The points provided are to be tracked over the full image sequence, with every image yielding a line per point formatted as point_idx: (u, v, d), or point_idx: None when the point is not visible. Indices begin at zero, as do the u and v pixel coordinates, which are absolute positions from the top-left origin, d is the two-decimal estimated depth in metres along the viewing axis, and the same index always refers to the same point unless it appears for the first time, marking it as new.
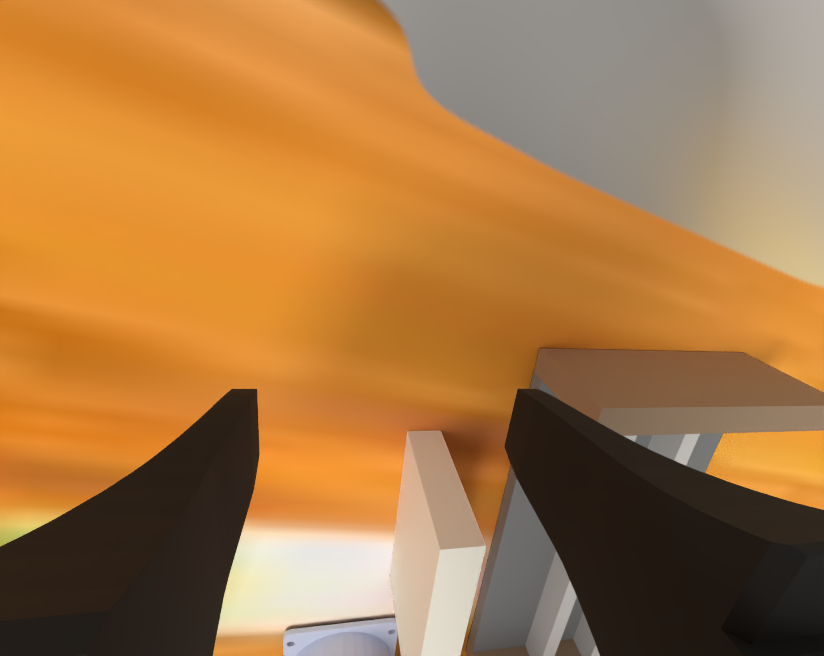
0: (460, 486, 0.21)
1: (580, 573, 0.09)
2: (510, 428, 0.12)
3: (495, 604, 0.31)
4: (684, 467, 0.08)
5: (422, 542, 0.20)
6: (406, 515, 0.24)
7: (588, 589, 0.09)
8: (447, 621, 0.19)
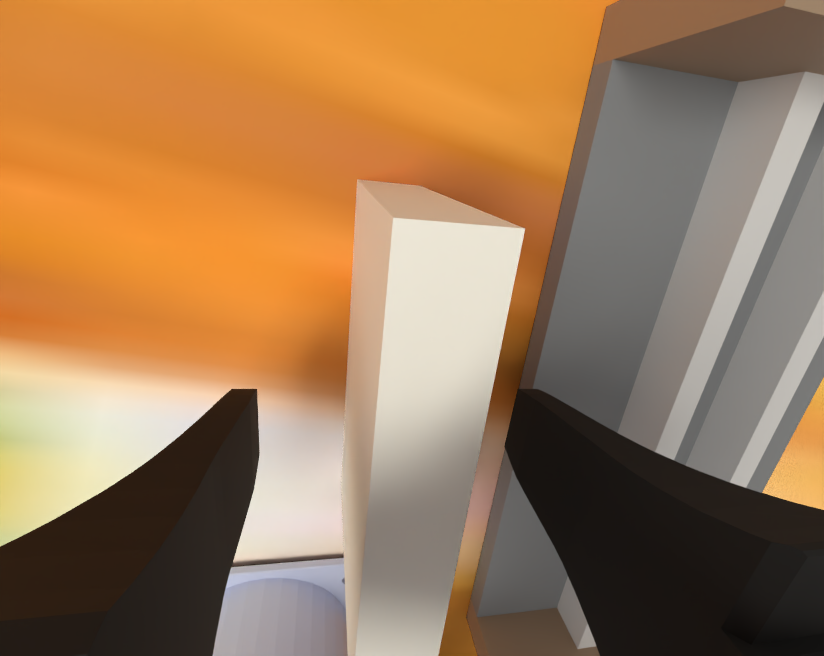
0: (455, 201, 0.09)
1: (580, 573, 0.09)
2: (510, 428, 0.12)
3: (513, 536, 0.19)
4: (684, 467, 0.08)
5: (368, 312, 0.09)
6: (354, 331, 0.13)
7: (588, 589, 0.09)
8: (421, 475, 0.08)
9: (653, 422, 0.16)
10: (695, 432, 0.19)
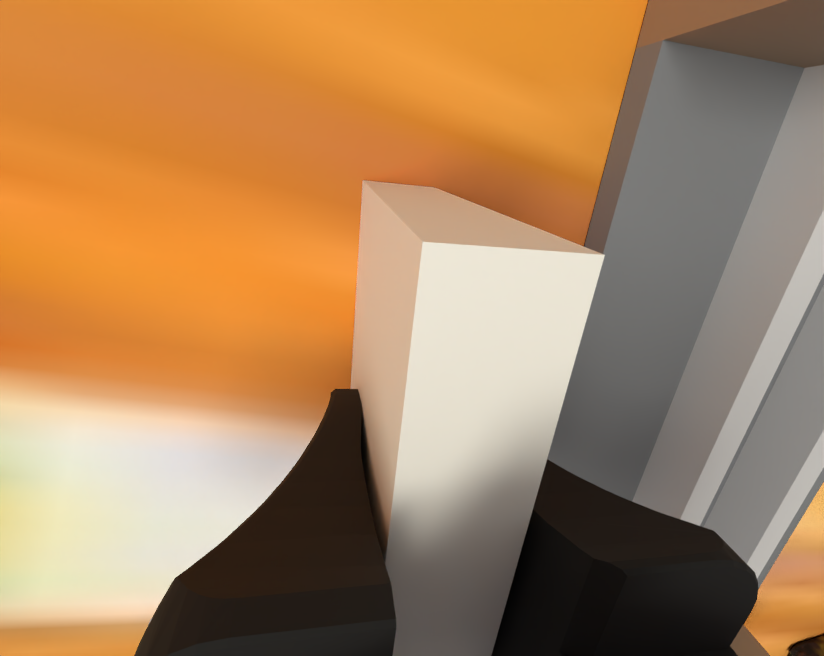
0: (486, 209, 0.08)
1: None
2: None
3: None
4: (564, 473, 0.08)
5: (379, 349, 0.07)
6: (359, 358, 0.11)
7: None
8: (450, 567, 0.06)
9: (693, 452, 0.14)
10: (733, 458, 0.17)
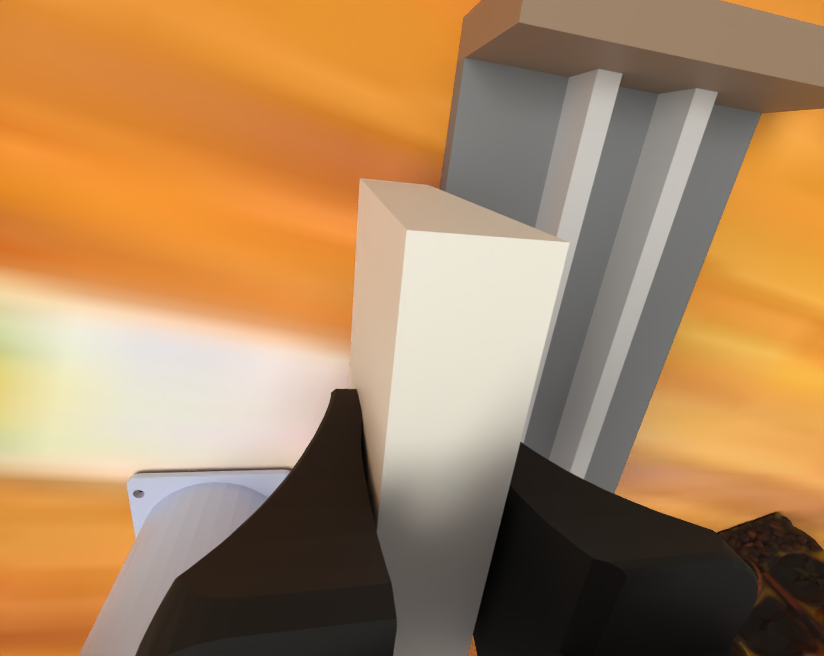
0: (473, 204, 0.08)
1: None
2: None
3: None
4: (564, 473, 0.08)
5: (373, 334, 0.08)
6: (356, 347, 0.11)
7: None
8: (437, 530, 0.07)
9: None
10: (572, 369, 0.23)
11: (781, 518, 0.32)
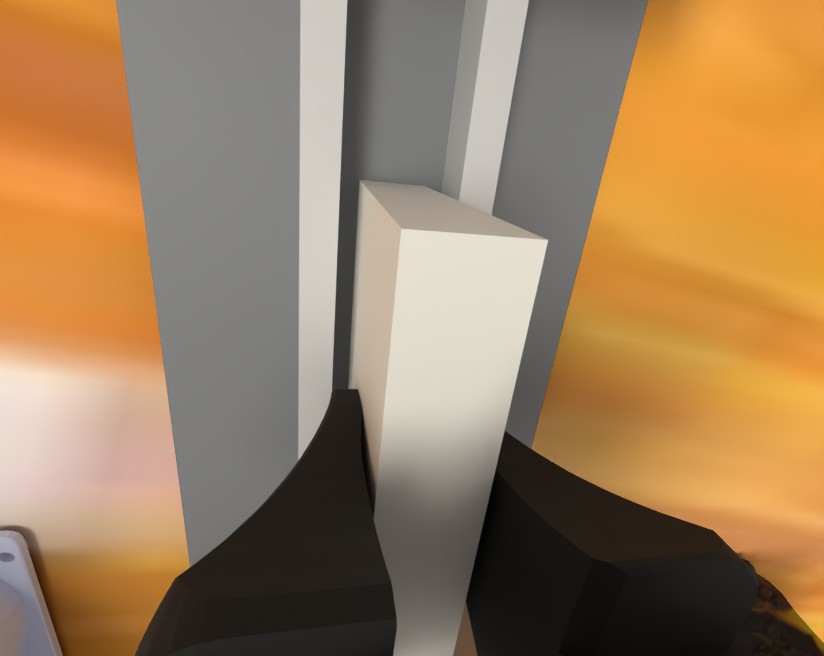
0: (465, 205, 0.09)
1: (469, 584, 0.09)
2: None
3: (206, 507, 0.16)
4: (564, 473, 0.08)
5: (371, 325, 0.08)
6: (356, 340, 0.12)
7: (474, 602, 0.08)
8: (430, 505, 0.07)
9: None
10: None
11: None
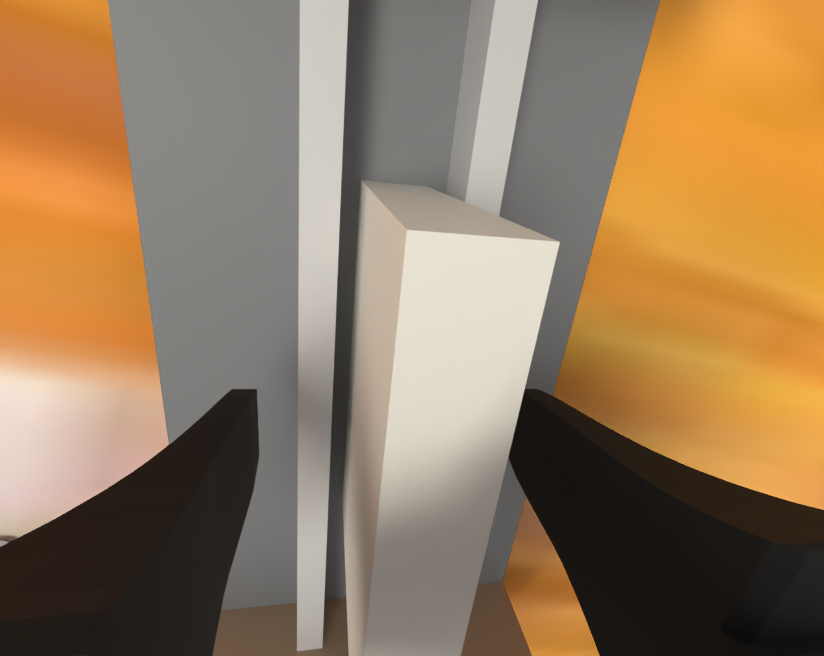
0: (470, 206, 0.08)
1: (580, 573, 0.09)
2: None
3: None
4: (684, 467, 0.08)
5: (374, 329, 0.08)
6: (357, 344, 0.12)
7: (588, 589, 0.09)
8: (435, 516, 0.07)
9: None
10: None
11: None
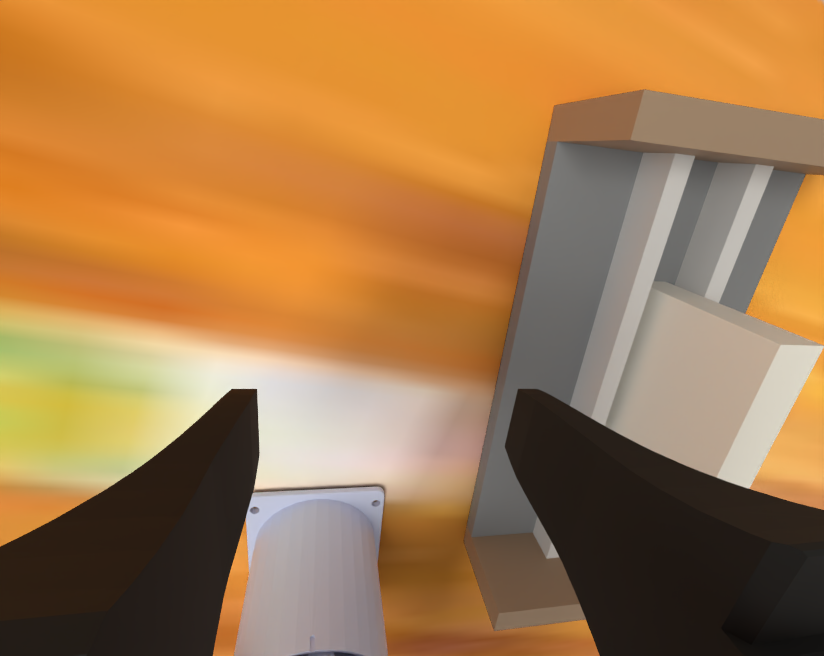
0: (739, 312, 0.18)
1: (580, 573, 0.09)
2: (510, 428, 0.12)
3: (498, 472, 0.26)
4: (684, 467, 0.08)
5: (704, 370, 0.18)
6: (637, 370, 0.22)
7: (588, 589, 0.09)
8: (749, 448, 0.17)
9: (594, 383, 0.23)
10: None
11: None
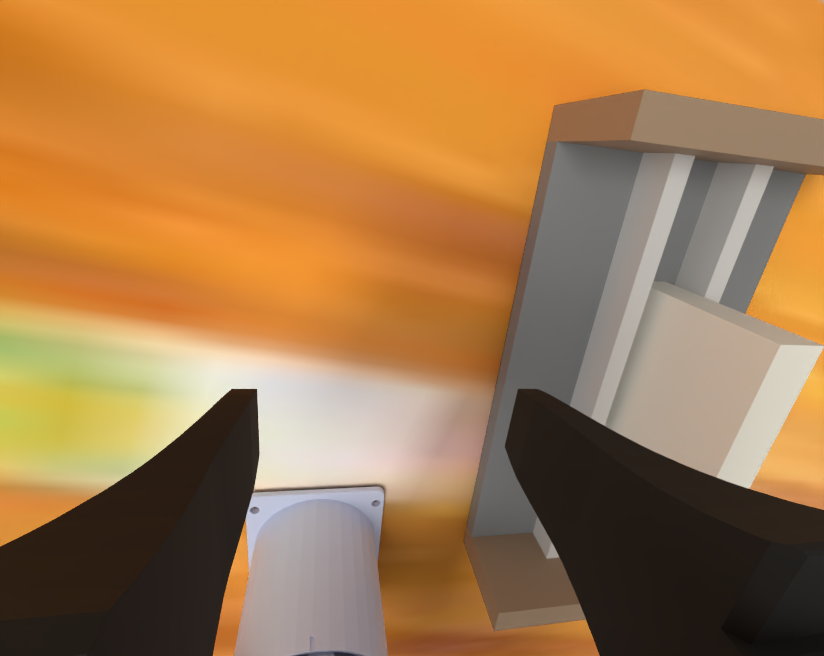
0: (739, 312, 0.18)
1: (580, 573, 0.09)
2: (510, 428, 0.12)
3: (498, 472, 0.26)
4: (684, 467, 0.08)
5: (704, 370, 0.18)
6: (637, 370, 0.22)
7: (588, 589, 0.09)
8: (749, 448, 0.17)
9: (594, 383, 0.23)
10: None
11: None
